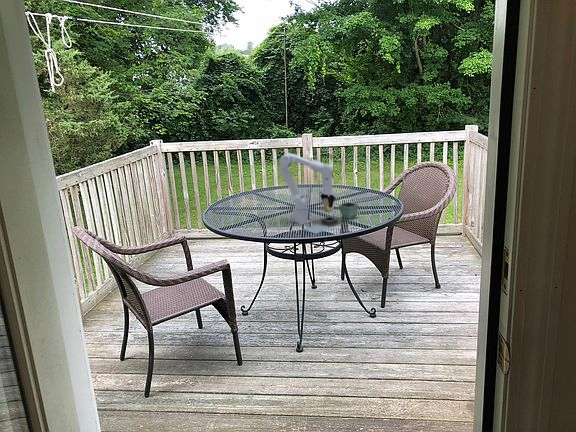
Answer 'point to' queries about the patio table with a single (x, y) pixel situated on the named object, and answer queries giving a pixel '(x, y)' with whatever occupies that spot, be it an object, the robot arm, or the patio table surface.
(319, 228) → the board
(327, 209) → the peg
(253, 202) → the patio table surface
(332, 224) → the socket base
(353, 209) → the flower pot
